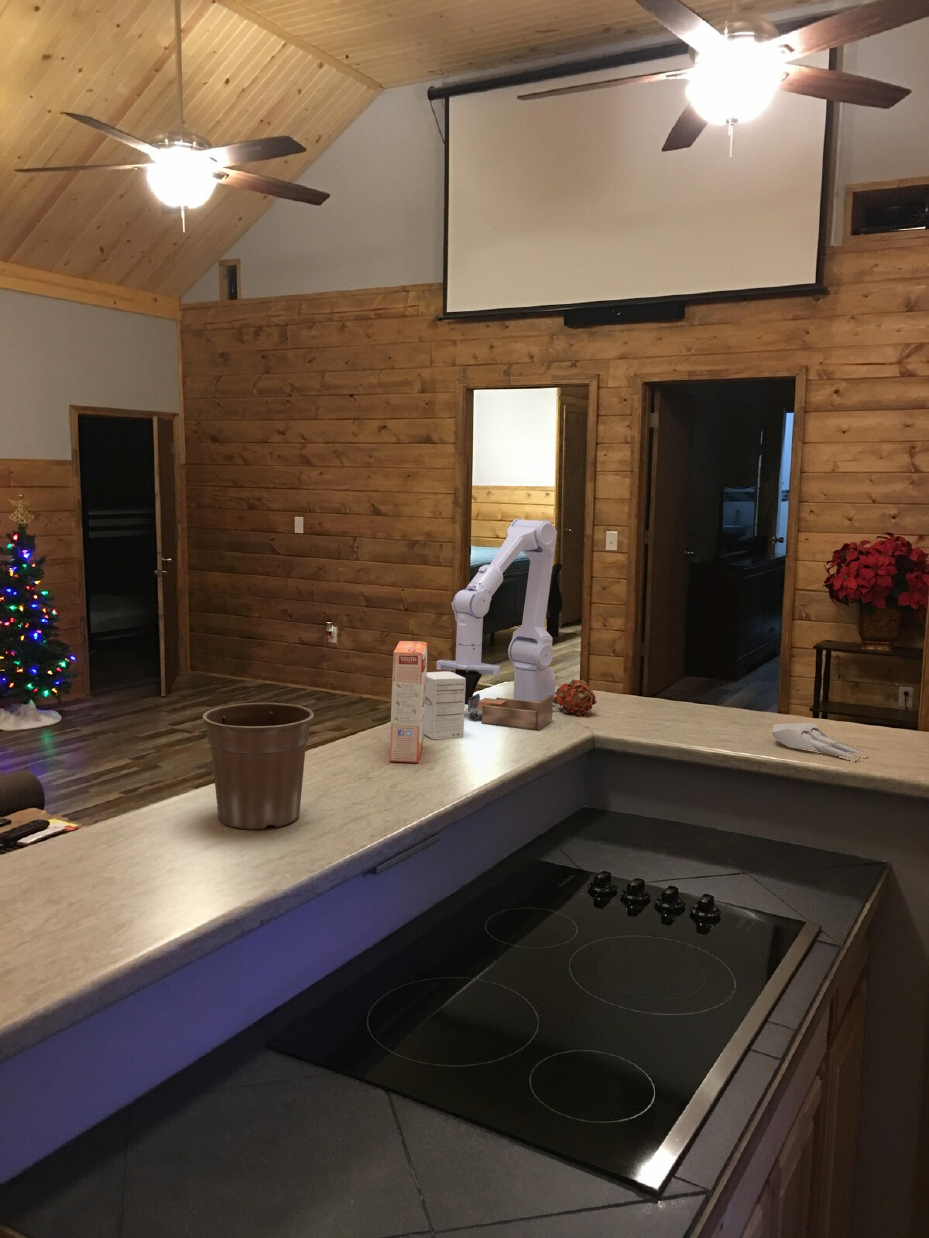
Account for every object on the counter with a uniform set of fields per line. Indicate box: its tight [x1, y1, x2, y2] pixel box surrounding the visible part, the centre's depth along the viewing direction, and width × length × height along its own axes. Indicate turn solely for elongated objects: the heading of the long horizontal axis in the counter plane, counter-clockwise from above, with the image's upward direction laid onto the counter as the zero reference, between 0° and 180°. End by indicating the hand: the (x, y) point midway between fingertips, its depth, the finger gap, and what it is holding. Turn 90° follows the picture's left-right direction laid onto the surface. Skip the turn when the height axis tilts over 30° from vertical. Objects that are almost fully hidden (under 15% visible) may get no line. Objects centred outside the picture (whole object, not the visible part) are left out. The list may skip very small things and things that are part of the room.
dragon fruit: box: [553, 679, 597, 716], centre depth 233 cm, size 8×8×12 cm
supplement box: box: [423, 670, 466, 740], centre depth 207 cm, size 7×7×13 cm
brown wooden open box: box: [481, 695, 553, 732], centre depth 220 cm, size 13×10×6 cm
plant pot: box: [202, 702, 315, 830], centre depth 151 cm, size 16×16×16 cm
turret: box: [772, 722, 866, 760], centre depth 207 cm, size 10×20×5 cm, turn 45°
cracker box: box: [388, 640, 428, 764], centre depth 190 cm, size 14×6×21 cm, turn 179°
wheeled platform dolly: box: [467, 693, 509, 721], centre depth 223 cm, size 8×8×5 cm
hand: (466, 703), depth 225 cm, fingers closed
